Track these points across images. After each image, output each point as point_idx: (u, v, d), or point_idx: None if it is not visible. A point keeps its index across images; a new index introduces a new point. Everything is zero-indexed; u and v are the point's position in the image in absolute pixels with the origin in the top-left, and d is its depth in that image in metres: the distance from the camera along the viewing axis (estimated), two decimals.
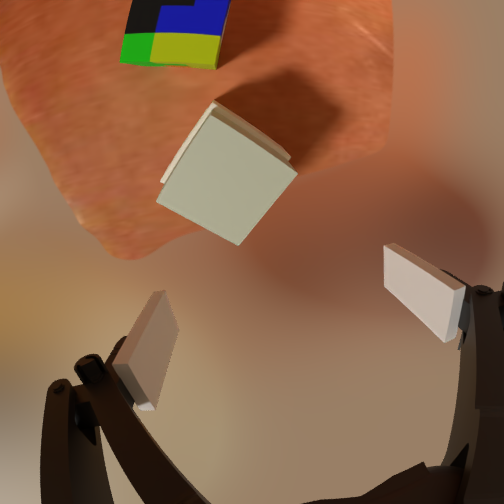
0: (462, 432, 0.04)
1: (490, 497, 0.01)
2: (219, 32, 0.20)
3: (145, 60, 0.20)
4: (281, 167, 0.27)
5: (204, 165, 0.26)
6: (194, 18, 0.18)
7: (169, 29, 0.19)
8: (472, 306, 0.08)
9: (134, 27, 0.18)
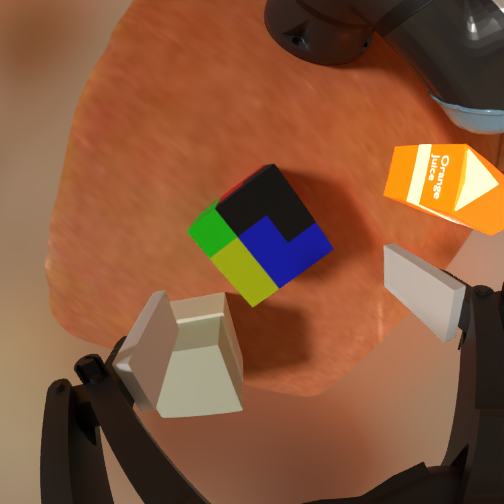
0: (462, 432, 0.04)
1: (490, 497, 0.01)
2: (281, 285, 0.27)
3: (207, 253, 0.25)
4: (234, 402, 0.29)
5: (182, 368, 0.27)
6: (277, 255, 0.26)
7: (250, 247, 0.26)
8: (472, 306, 0.08)
9: (227, 211, 0.24)
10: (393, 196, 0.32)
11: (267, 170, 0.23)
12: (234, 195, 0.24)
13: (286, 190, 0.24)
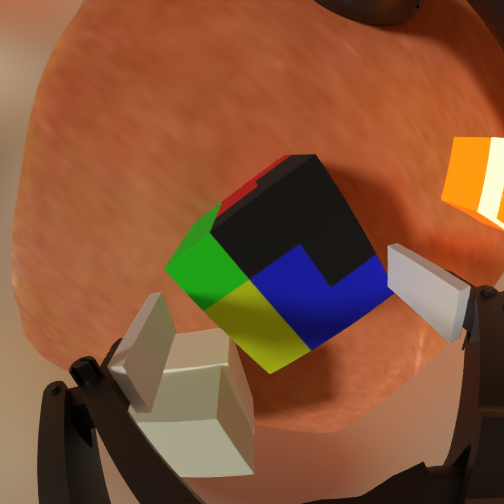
0: (465, 432, 0.04)
1: (490, 497, 0.01)
2: (314, 345, 0.17)
3: (199, 304, 0.15)
4: (243, 468, 0.19)
5: (171, 438, 0.17)
6: (312, 305, 0.16)
7: (270, 294, 0.15)
8: (476, 306, 0.07)
9: (232, 238, 0.14)
10: (456, 202, 0.21)
11: (303, 165, 0.13)
12: (244, 209, 0.14)
13: (334, 202, 0.14)
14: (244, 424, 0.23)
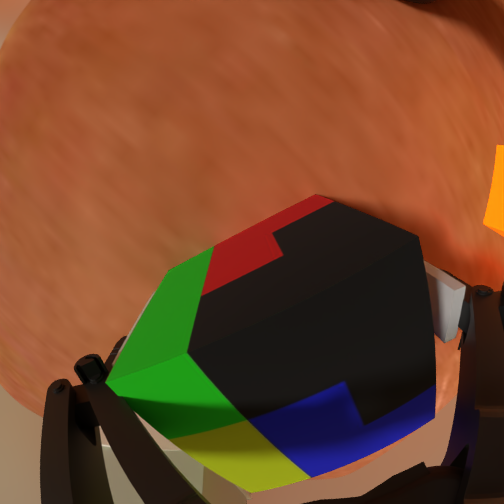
0: (462, 432, 0.04)
1: (490, 497, 0.01)
2: (317, 474, 0.09)
3: (162, 432, 0.08)
4: None
5: None
6: (331, 444, 0.08)
7: (275, 436, 0.08)
8: (472, 305, 0.08)
9: (229, 367, 0.07)
10: None
11: (394, 255, 0.06)
12: (263, 325, 0.06)
13: (417, 320, 0.07)
14: (236, 499, 0.15)
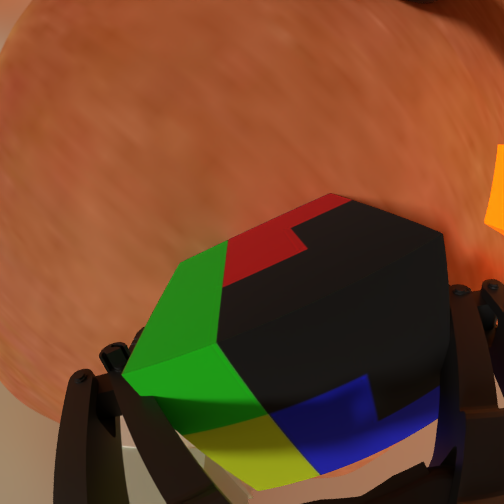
0: (448, 434, 0.04)
1: (490, 497, 0.01)
2: (327, 471, 0.09)
3: (177, 428, 0.08)
4: None
5: None
6: (345, 439, 0.08)
7: (293, 431, 0.08)
8: None
9: (258, 358, 0.07)
10: None
11: (421, 250, 0.06)
12: (297, 315, 0.06)
13: (436, 315, 0.07)
14: (238, 497, 0.15)
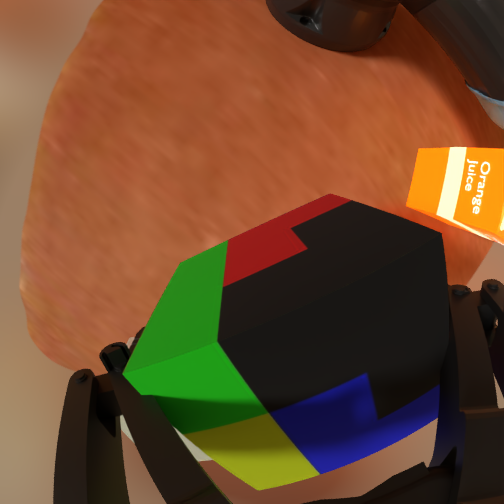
0: (448, 434, 0.04)
1: (490, 497, 0.01)
2: (327, 470, 0.09)
3: (177, 427, 0.08)
4: None
5: None
6: (345, 439, 0.09)
7: (293, 430, 0.08)
8: (449, 306, 0.08)
9: (258, 357, 0.07)
10: (419, 207, 0.26)
11: (420, 250, 0.06)
12: (298, 314, 0.06)
13: (435, 314, 0.07)
14: None
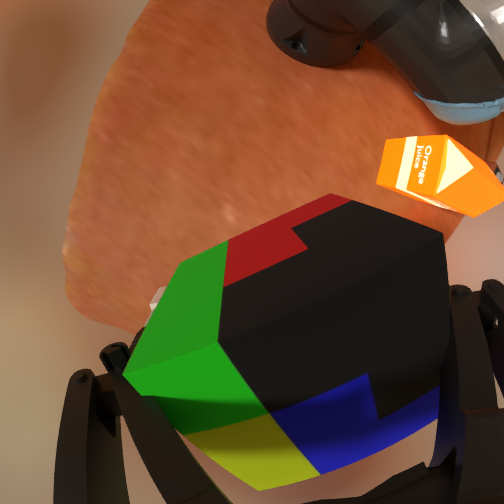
0: (448, 434, 0.04)
1: (490, 497, 0.01)
2: (327, 471, 0.09)
3: (178, 427, 0.08)
4: None
5: None
6: (346, 439, 0.08)
7: (294, 430, 0.08)
8: None
9: (259, 357, 0.07)
10: (384, 184, 0.36)
11: (422, 250, 0.06)
12: (299, 314, 0.06)
13: (436, 315, 0.07)
14: None
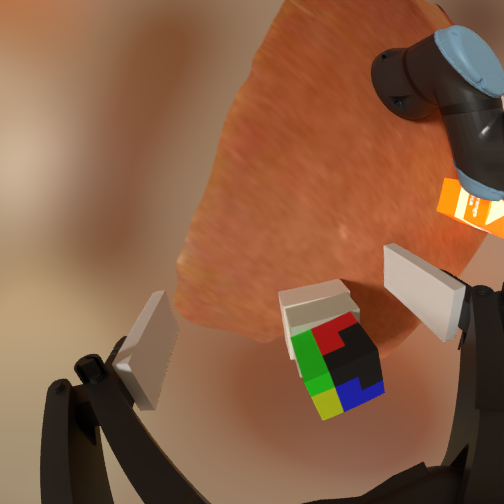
0: (462, 432, 0.04)
1: (490, 497, 0.01)
2: (346, 410, 0.33)
3: (311, 394, 0.31)
4: None
5: None
6: (352, 396, 0.32)
7: (339, 392, 0.31)
8: (471, 305, 0.08)
9: (336, 374, 0.30)
10: (444, 212, 0.45)
11: (371, 352, 0.30)
12: (345, 365, 0.30)
13: (376, 364, 0.30)
14: None
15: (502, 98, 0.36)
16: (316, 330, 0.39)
